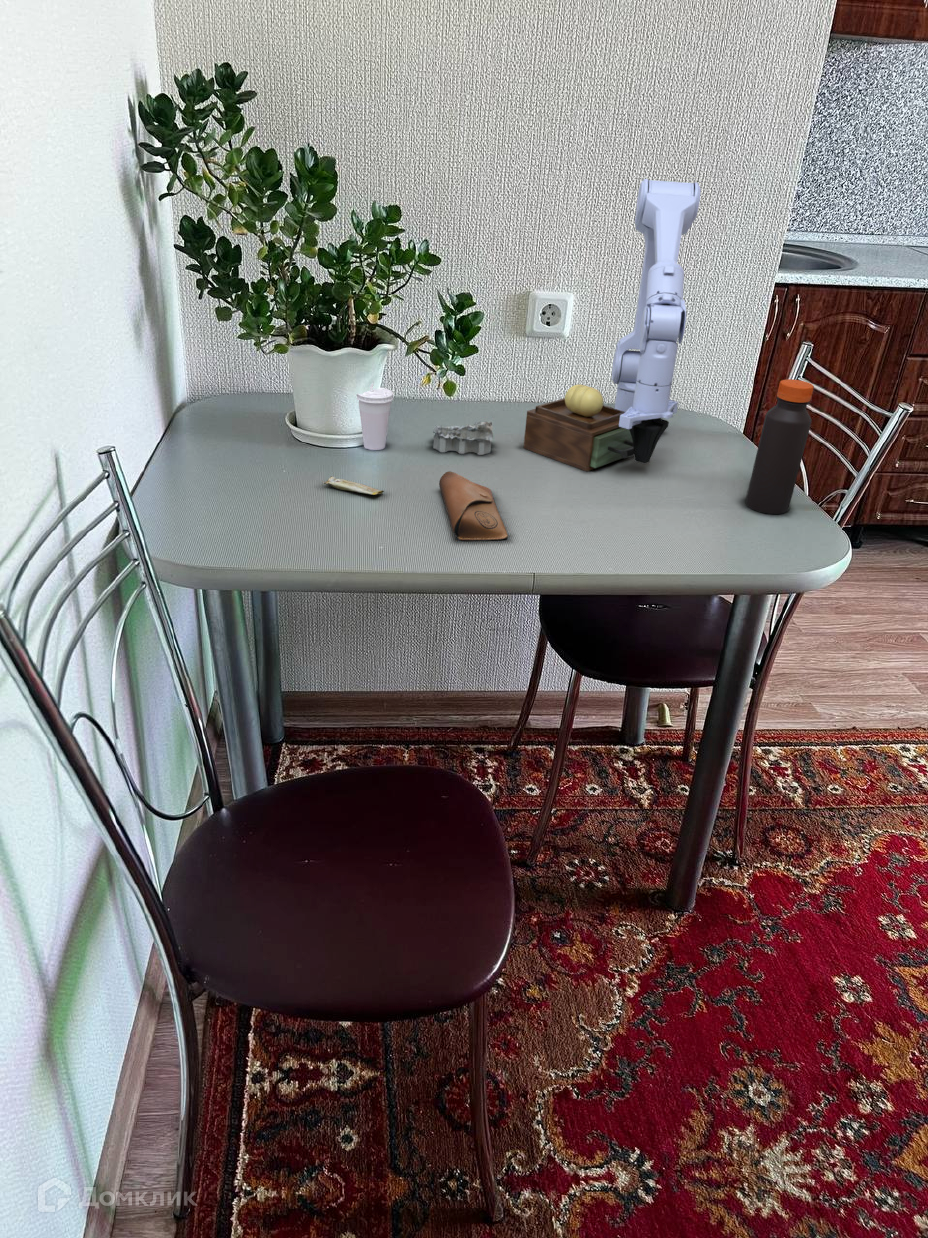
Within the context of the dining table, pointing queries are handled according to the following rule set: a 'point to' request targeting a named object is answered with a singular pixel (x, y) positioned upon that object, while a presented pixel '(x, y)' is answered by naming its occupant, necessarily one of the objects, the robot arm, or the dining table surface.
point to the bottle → (780, 449)
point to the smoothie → (375, 416)
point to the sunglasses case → (471, 509)
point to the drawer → (611, 446)
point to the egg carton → (464, 438)
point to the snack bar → (351, 486)
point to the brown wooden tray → (545, 410)
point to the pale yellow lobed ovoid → (584, 400)
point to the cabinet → (564, 436)
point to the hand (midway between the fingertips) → (641, 461)
